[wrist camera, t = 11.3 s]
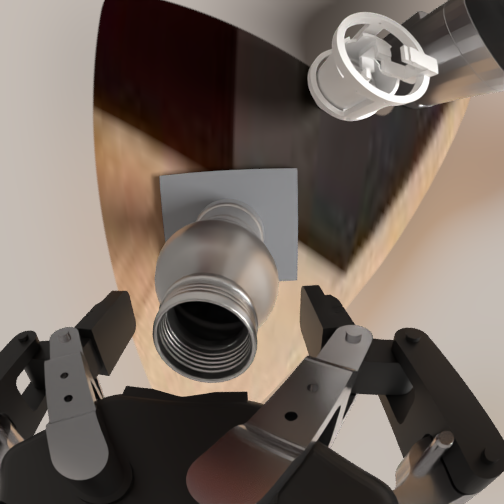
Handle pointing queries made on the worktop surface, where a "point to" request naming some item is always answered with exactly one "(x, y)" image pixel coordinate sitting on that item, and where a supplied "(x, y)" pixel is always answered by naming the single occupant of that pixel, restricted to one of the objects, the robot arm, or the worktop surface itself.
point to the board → (247, 191)
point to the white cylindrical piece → (368, 69)
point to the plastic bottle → (214, 293)
